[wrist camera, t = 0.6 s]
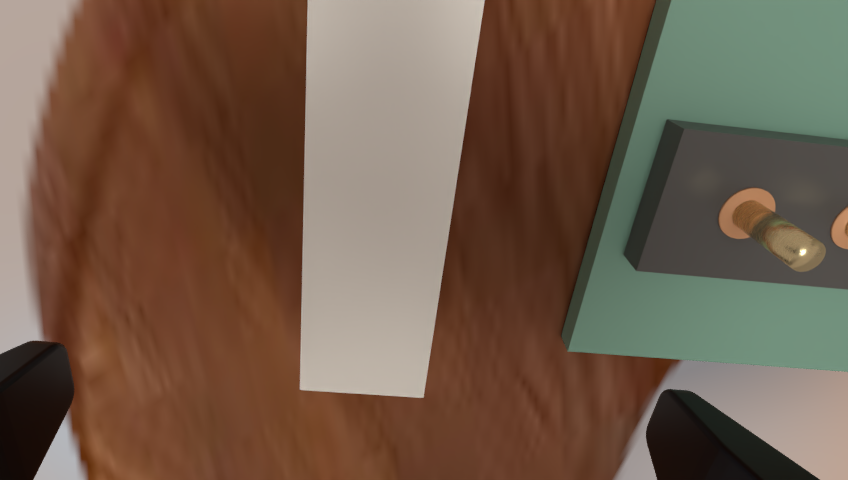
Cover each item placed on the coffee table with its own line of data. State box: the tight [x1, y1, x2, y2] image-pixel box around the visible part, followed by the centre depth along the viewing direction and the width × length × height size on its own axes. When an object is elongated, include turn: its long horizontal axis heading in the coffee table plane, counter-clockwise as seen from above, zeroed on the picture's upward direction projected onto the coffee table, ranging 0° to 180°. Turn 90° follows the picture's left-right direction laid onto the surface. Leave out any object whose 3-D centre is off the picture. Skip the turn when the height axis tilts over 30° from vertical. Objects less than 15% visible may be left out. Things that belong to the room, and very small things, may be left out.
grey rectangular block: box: [300, 0, 485, 398], centre depth 17 cm, size 4×13×5 cm, turn 173°
